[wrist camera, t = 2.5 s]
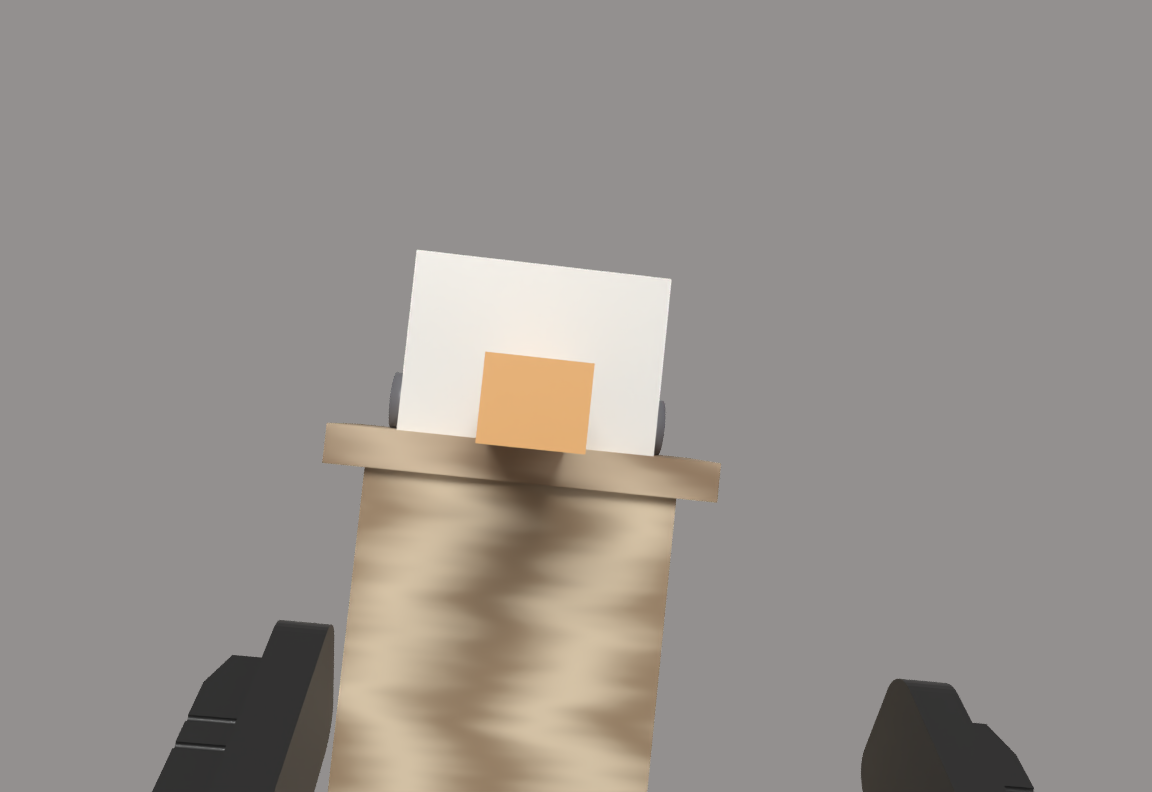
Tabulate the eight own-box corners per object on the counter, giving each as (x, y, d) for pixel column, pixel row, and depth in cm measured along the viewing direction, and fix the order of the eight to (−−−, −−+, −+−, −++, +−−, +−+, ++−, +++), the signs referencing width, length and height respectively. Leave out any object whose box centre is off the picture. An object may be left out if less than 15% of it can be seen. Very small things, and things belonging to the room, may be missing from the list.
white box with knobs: (653, 454, 42) (668, 300, 42) (740, 470, 25) (764, 219, 26) (394, 427, 41) (412, 271, 41) (314, 426, 25) (344, 169, 25)
